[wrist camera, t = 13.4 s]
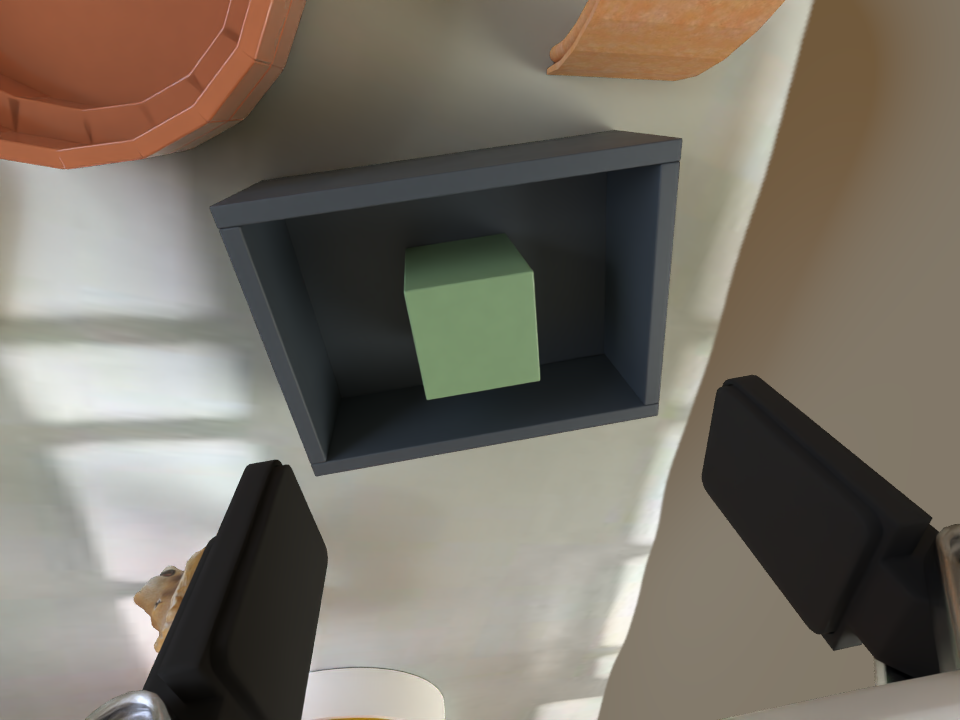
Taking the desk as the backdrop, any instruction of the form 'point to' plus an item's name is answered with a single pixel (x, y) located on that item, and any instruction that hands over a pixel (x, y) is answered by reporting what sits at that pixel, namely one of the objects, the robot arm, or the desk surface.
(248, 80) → the bowl
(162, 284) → the desk surface
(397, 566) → the desk surface
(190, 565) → the lion figurine
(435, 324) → the block
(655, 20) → the arch
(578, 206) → the bin
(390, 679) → the potted cactus
